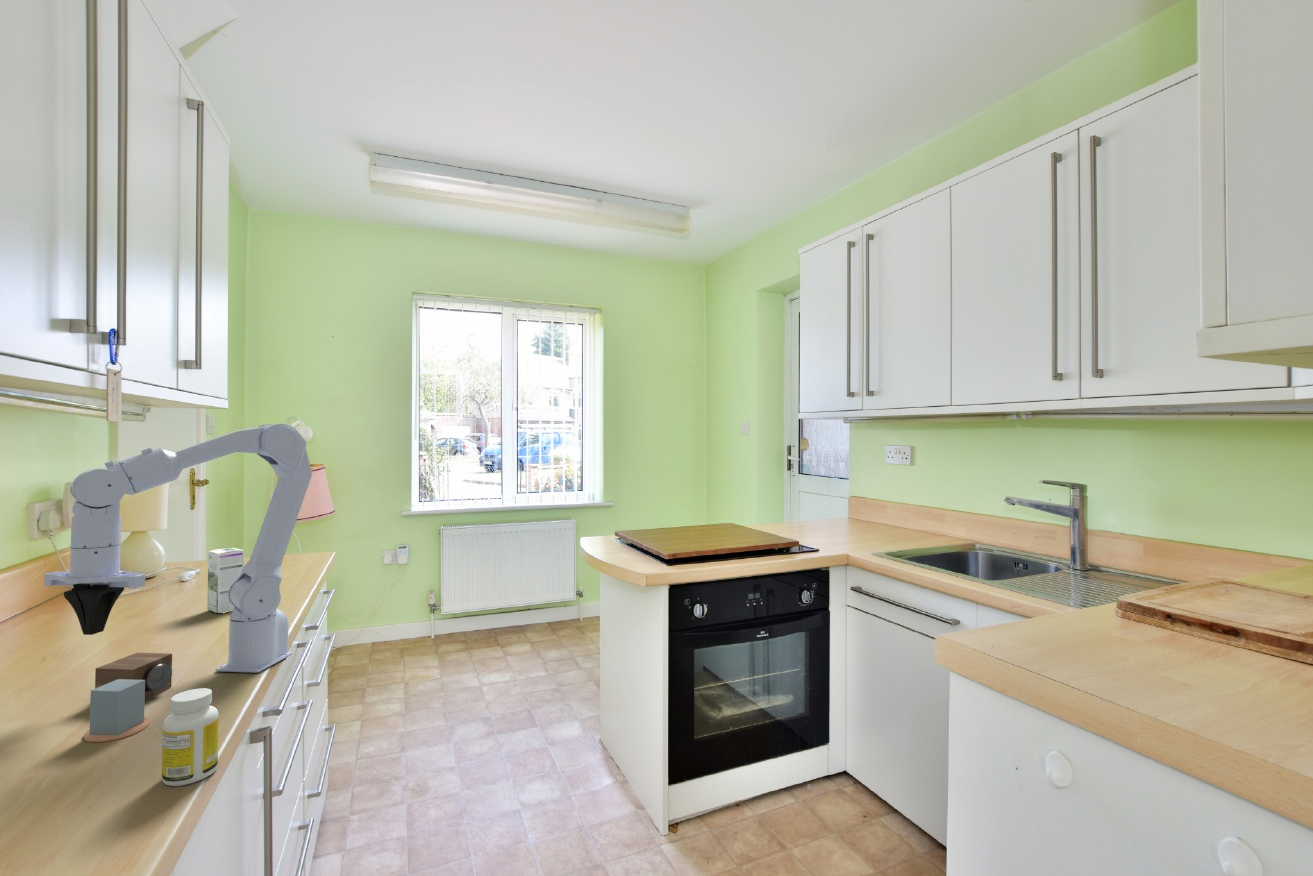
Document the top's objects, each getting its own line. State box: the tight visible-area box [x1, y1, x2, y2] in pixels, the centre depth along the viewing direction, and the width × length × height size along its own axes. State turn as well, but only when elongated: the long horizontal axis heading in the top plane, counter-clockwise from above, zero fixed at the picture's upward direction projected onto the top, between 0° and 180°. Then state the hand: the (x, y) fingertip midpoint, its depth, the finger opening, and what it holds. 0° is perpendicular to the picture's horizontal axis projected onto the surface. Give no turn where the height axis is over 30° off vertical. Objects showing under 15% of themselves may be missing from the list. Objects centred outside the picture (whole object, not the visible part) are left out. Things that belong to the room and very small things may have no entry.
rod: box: [143, 664, 173, 691], centre depth 94 cm, size 4×8×4 cm, turn 88°
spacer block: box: [89, 679, 146, 736], centre depth 83 cm, size 4×4×6 cm
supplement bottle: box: [161, 687, 219, 787], centre depth 73 cm, size 5×5×10 cm
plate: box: [83, 717, 150, 743], centre depth 83 cm, size 7×7×1 cm
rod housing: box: [94, 652, 173, 700], centre depth 94 cm, size 7×6×6 cm
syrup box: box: [207, 547, 245, 614], centre depth 142 cm, size 6×6×14 cm
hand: (93, 632), depth 93 cm, fingers closed
